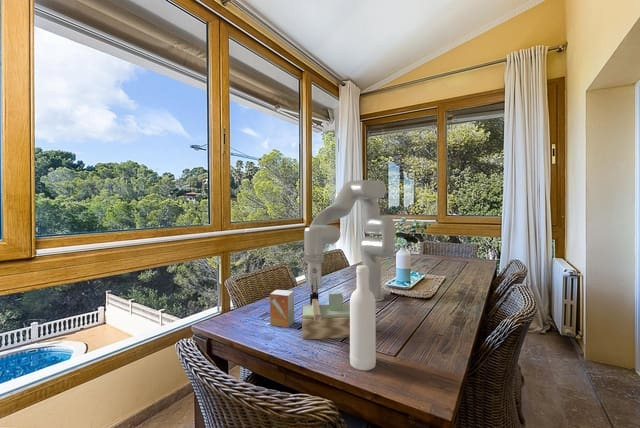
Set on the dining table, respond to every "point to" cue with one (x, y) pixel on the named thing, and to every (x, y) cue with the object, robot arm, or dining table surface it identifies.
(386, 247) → the robot arm
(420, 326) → the dining table surface
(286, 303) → the small box
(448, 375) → the dining table surface
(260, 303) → the dining table surface
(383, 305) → the dining table surface
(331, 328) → the toolbox
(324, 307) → the lid
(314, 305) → the key
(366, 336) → the bottle
